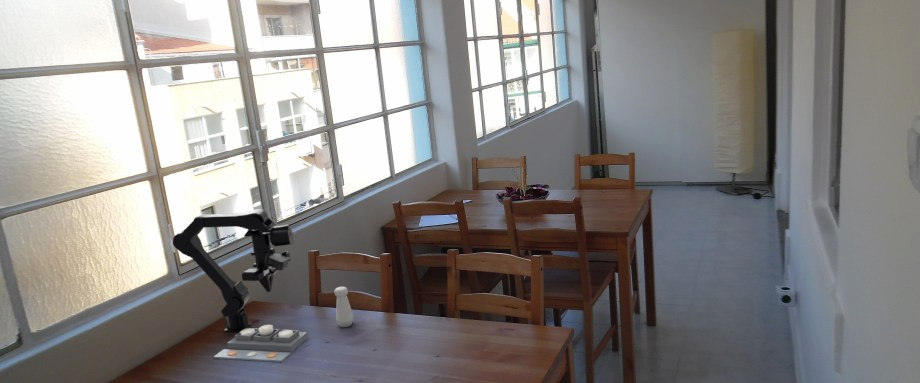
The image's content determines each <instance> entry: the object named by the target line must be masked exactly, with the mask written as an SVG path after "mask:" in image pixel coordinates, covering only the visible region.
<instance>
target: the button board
mask: <svg viewBox="0 0 920 383" xmlns="http://www.w3.org/2000/svg"><path fill="white" fill-rule="evenodd" d="M245 329H255V332H254V333H253V334H251V335H250V336H247V335H241V331H240V332H237V333H235V335H234V337H233V338H231V340H229V341H227V342H226V343H227V349H232V350H250V351H269V352H288V353H293V352H294V351H295V350H296V349H297V348H299V346H301V345H302V344H303V343H304V342H305V341H306V340H307V339H309V336H308V331H299V330H298V329H291V330H292V331H293V334H292V335H291V336H290V337H279V333H280V332H282V331H285V330H286V329H282V330H280V329H279V328H273V330H274V332H273V333H272V334H270V335H266V336H261V335H260V334H259V328H256V327H255V328H253V327H252V328H251V327H246V328H245ZM245 329H243V330H245ZM243 330H242V331H243Z"/></svg>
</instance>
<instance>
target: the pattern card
mask: <svg viewBox="0 0 920 383" xmlns="http://www.w3.org/2000/svg"><path fill="white" fill-rule="evenodd" d="M291 353H292V352H282V351H263V350H244V349H228V348H223V349H222V350H221V351H219V352H218V353H217V354H215V355H214V356H213V359H222V360H223V359H225V360H243V361H259V362H276V363H283V362H284V361H285V360H286V359H287V358H288V357H289V356H290V355H291Z"/></svg>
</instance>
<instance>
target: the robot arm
mask: <svg viewBox="0 0 920 383" xmlns="http://www.w3.org/2000/svg"><path fill="white" fill-rule="evenodd" d="M290 226H291V225H290V223H289V224H283V225H277V224H276V223H275V222H274V221H273V220H272V219H271V218H270V217H269V215H268V213H267V211H265V210H264V209H263V208H256V209H251V210H246V211H244V212H240V213H219V214H218V213H217V214H216V213H214V214H213V213H212V214H206V213H205V214H204V213H201V214H199V215H197V216H196V217H194V219H193V221H192V222H190V224H188V226H187V227H186V228H184V229H183V230H181V231H180V232H178V233H177V234H175V235H174V236H173V238H172V245H173V247H174V248H175V249H176V250H177V251H179V252H180V253H181V254H182V255H185V256H187V257H189V258H191V259H192V260H193V261H194V262H195V263H196V264H197V265H198V267H199V268H200V269H201V270H202V271H203V273H205V275H207V277H208V278H209V279H210V280H211V281H212V282H213V284H215V285H216V287H218V289H219V290H220V292H221V296H222V298H223V300H224V301H225V303H226V304H225V306H224V307H223V309H222V310H221V311H220V312H221V314H222V316H223V317H224V319H225V325H226V328H224V330H223V331H224V332H228V333H229V332H231V333H239V332H240V331H242V330H243V329H245V328H249V326H251V325H252V324H251V322H249V320H248V314H247V313H246V309H244V307H245V306H246V303H247V302H248V301H249V299H250V292H249V291H248V290H249V288H248V287H247V286H246V285H244V283H243V281H244V282H256V281H257V282H259V283H260V284H261V286H262V287H263V289H264V290H265V292H267V293H271V291H272V286H273V280H274V278H275V277H274V276H275V274H277V272H278V271H283V270H284V269H286V268H288V265H289V262H291V261H292V259H291V255H290V252H289V251H288V250H285V251H283V252H281V253H276V249H275V247H283V246H292V245H293V244H294V232H293V231H292V228H291V227H290ZM226 227H227V228H229V227H231V228H232V227H233V228H234V227H237V228H241V229H245V230H247V231H246V233H244V237H245V238H246V237H251V238H250V239H251V244H252V250H253V251H251V252H250V255H251V256H254V263H253V264H252V267H253V268H247V270H245V271H243V272H242V273H241V280H242V281H241V280H239V281H238V282H236V281H234V280H232V279H231V278H230V276H229V275H228V274H227V273H226V272H225V271H224V270H223V268H221V266H219V264H218V263H217V262H216V261H215V260H214V259H213V258H212V256H211V255H210V254H209V253H208V252H207V251H206V250H205V249H204V247H203V244H202V240H201V239H200V236H199V234H200V233H201V231H203V229H204V228H226ZM272 246H274V247H272Z"/></svg>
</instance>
